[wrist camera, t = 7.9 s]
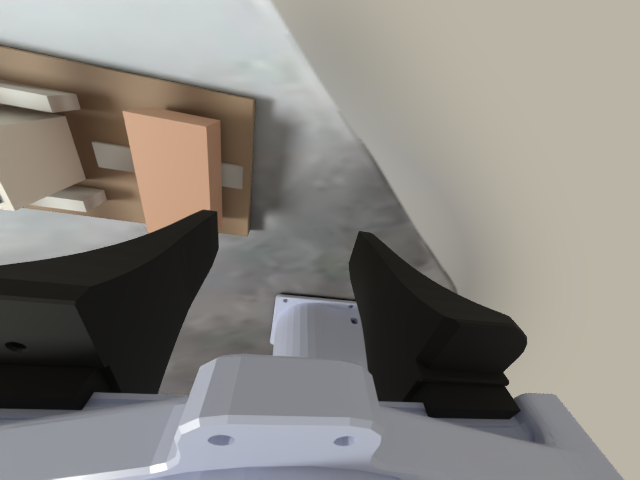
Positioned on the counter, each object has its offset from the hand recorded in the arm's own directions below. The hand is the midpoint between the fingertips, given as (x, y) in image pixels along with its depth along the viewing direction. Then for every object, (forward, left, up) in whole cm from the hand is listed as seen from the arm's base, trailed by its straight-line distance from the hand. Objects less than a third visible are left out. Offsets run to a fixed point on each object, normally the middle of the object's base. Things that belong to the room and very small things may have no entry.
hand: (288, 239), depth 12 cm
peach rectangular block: (+7, 0, -7) cm, 10 cm away
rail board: (+13, 0, -8) cm, 16 cm away
